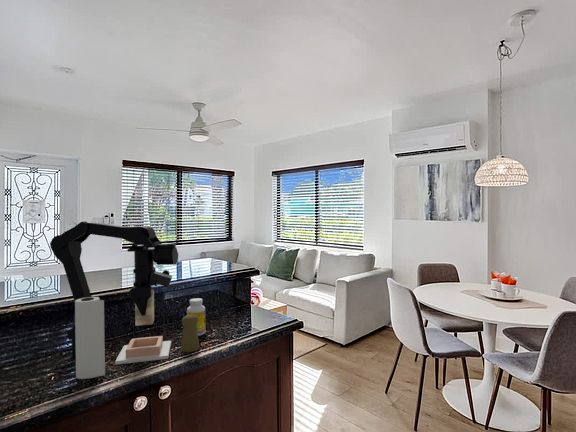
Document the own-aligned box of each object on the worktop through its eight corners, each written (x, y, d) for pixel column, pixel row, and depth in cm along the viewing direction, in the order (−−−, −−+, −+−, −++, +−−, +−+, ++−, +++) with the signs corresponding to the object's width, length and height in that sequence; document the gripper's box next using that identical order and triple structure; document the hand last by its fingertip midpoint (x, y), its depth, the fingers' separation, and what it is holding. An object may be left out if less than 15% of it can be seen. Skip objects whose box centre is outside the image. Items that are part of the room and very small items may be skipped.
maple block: (135, 325, 107) (135, 294, 107) (138, 321, 112) (137, 290, 112) (152, 324, 109) (152, 292, 109) (154, 319, 113) (153, 289, 113)
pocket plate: (115, 364, 102) (115, 352, 102) (124, 348, 115) (124, 337, 115) (168, 358, 106) (168, 347, 106) (171, 343, 119) (171, 333, 119)
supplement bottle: (206, 335, 126) (206, 300, 126) (188, 338, 124) (187, 302, 124) (204, 329, 132) (203, 296, 132) (186, 332, 130) (186, 298, 130)
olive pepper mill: (194, 352, 110) (194, 318, 110) (177, 351, 112) (176, 317, 112) (202, 345, 116) (202, 313, 116) (186, 344, 118) (186, 312, 117)
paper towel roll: (73, 374, 96) (72, 298, 96) (97, 367, 100) (96, 295, 100) (80, 383, 91) (79, 303, 91) (105, 375, 95) (103, 299, 95)
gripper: (168, 268, 103) (168, 319, 103) (172, 260, 121) (172, 304, 121) (128, 270, 100) (128, 322, 101) (138, 261, 119) (139, 306, 119)
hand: (144, 313), depth 110 cm, fingers closed on maple block, 5 cm apart
